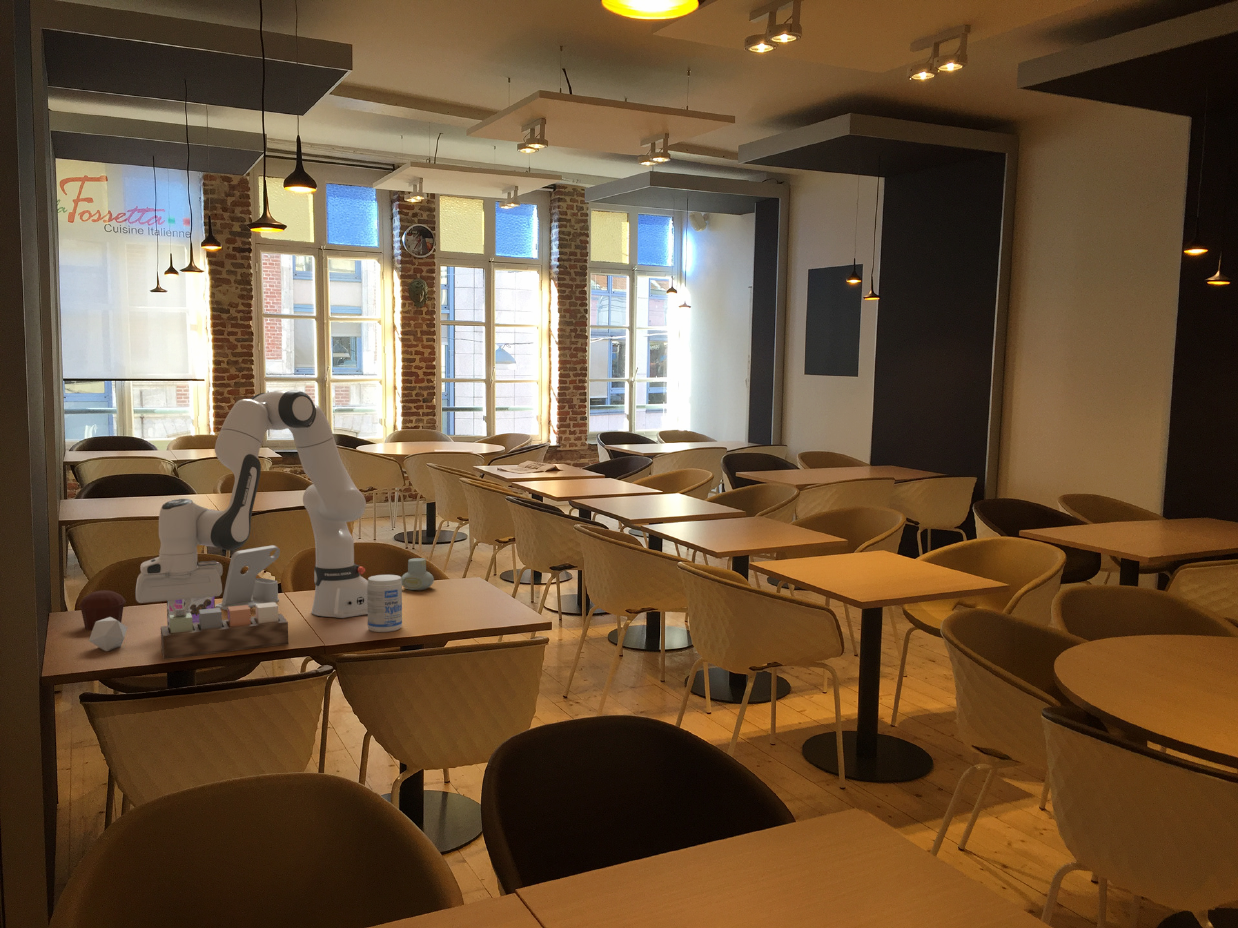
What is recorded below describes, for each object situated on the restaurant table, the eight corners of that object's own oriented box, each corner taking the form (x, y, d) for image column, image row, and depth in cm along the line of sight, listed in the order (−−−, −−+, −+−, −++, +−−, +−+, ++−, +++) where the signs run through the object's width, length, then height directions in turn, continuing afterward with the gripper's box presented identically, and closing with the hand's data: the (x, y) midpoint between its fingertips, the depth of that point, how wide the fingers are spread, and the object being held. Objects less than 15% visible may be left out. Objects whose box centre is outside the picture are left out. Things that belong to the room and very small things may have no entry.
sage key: (191, 631, 251) (190, 613, 250) (192, 636, 246) (192, 617, 246) (170, 634, 248) (169, 615, 248) (171, 638, 244) (170, 619, 243)
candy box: (185, 634, 264) (183, 575, 263) (166, 632, 265) (164, 574, 264) (216, 621, 278) (214, 565, 276) (198, 620, 279) (196, 564, 277)
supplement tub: (390, 634, 266) (390, 582, 264) (360, 631, 269) (360, 579, 267) (408, 625, 275) (408, 575, 274) (379, 622, 278) (378, 572, 277)
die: (109, 644, 256) (84, 620, 251) (137, 628, 256) (113, 604, 251) (103, 663, 249) (77, 639, 244) (132, 647, 249) (107, 622, 244)
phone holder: (262, 596, 309) (261, 541, 308) (282, 600, 304) (281, 544, 302) (213, 607, 295) (211, 549, 293) (233, 611, 289) (231, 552, 288)
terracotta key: (248, 623, 257) (247, 604, 257) (250, 627, 253) (250, 608, 252) (228, 625, 255) (227, 606, 254) (230, 629, 250) (229, 610, 250)
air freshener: (437, 587, 325) (437, 557, 324) (428, 592, 317) (427, 562, 316) (407, 585, 327) (406, 556, 326) (396, 590, 319) (396, 561, 318)
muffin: (73, 632, 265) (71, 596, 264) (88, 622, 276) (87, 587, 275) (119, 630, 267) (117, 595, 266) (132, 620, 278) (131, 586, 277)
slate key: (219, 626, 254) (219, 607, 253) (222, 630, 250) (221, 611, 249) (199, 628, 251) (198, 609, 251) (201, 632, 247) (200, 613, 247)
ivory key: (275, 620, 261) (274, 602, 260) (278, 624, 256) (278, 605, 256) (255, 622, 258) (255, 603, 258) (258, 626, 254) (258, 608, 253)
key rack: (281, 634, 264) (281, 613, 264) (288, 644, 255) (287, 621, 255) (161, 649, 250) (160, 626, 249) (164, 659, 241) (163, 635, 241)
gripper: (220, 557, 253) (222, 609, 254) (134, 564, 243) (135, 617, 245) (223, 561, 248) (225, 614, 249) (135, 568, 238) (136, 623, 239)
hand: (180, 616), depth 247 cm, fingers closed
